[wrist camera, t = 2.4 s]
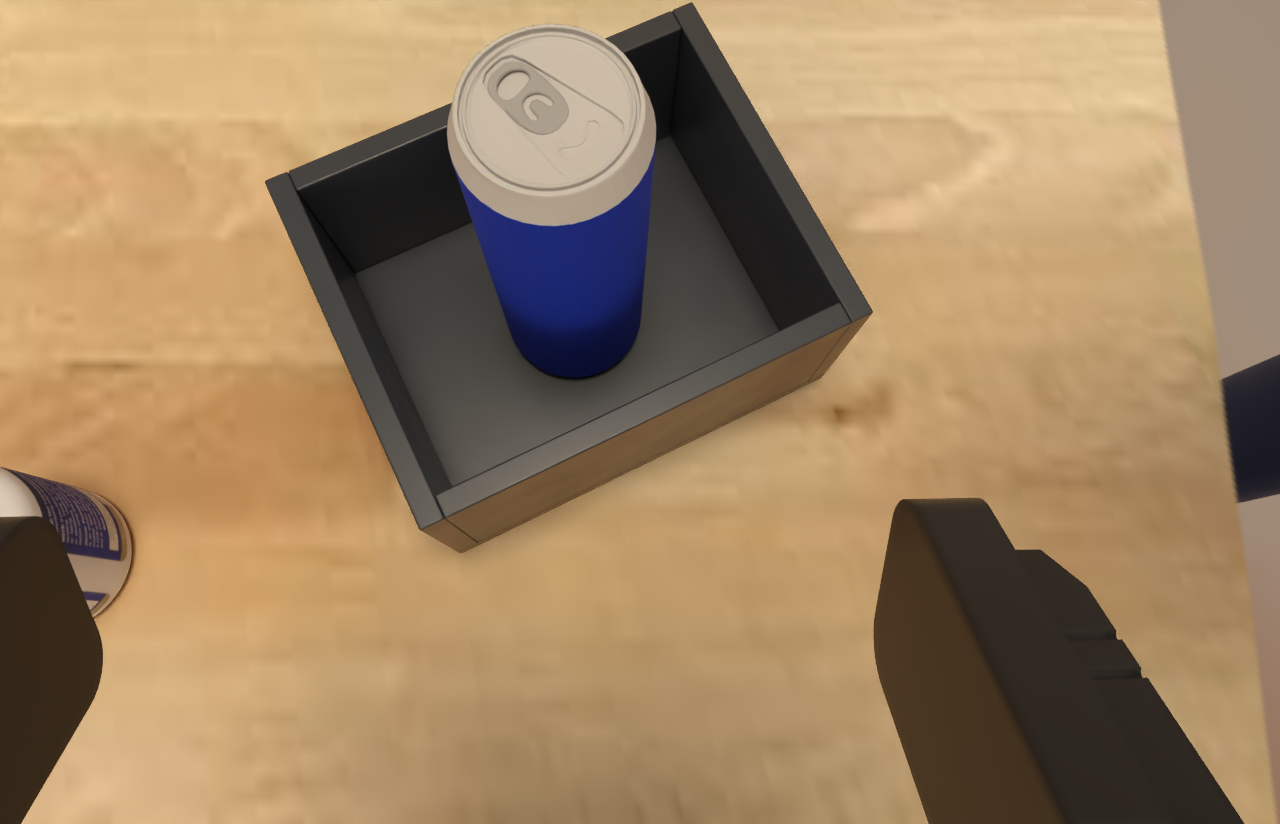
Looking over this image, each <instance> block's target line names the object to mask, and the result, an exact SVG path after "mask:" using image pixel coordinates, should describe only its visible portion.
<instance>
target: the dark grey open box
mask: <svg viewBox="0 0 1280 824" xmlns="http://www.w3.org/2000/svg"><path fill="white" fill-rule="evenodd" d="M605 39H606V40H608V41H609V42H611V43H612V44H614V45H615V46H616V47H617V48H618V49H619V50H620V51H621V52H622V53H623V54H624V55H625V56H626V57H627V58H628V60H629V61H630V62H631V64H632V65H633V67H634V68H635V70H636V72H637V74H638V76H639V78H640V80H641V83H642V85H643V87H644V88H645V90H646V92H647V94H648V96H649V98H650V101H651V104H652V107H653V110H654V115H655V121H656V146H655V158H654V170H653V182H652V194H651V206H650V218H649V230H648V241H647V253H646V265H645V277H644V289H643V301H642V313H641V322H640V328H639V331H638V334H637V337H636V339H635V341H634V343H633V345H632V346H631V348H630V349H629V351H628V352H627V353H626V354H625V356H624V357H623V358H622V359H620V360H619V361H618V362H617V363H616V364H614V365H613V366H611V367H610V368H608V369H606V370H604V371H602V372H600V373H597V374H594V375H590V376H585V377H563V376H558V375H554V374H551V373H548V372H546V371H544V370H542V369H540V368H538V367H536V366H535V365H534V364H532V363H531V362H530V361H528V360H527V359H526V358H525V357H524V355H523V354H522V353H521V352H520V351H519V349H518V348H517V346H516V345H515V343H514V341H513V338H512V336H511V334H510V331H509V328H508V325H507V322H506V319H505V316H504V313H503V310H502V307H501V304H500V301H499V298H498V295H497V292H496V290H495V287H494V284H493V281H492V278H491V275H490V272H489V269H488V266H487V263H486V260H485V257H484V254H483V251H482V248H481V245H480V242H479V240H478V237H477V234H476V231H475V228H474V225H473V222H472V219H471V216H470V213H469V210H468V207H467V204H466V201H465V198H464V195H463V192H462V190H461V187H460V184H459V181H458V178H457V175H456V172H455V169H454V166H453V163H452V160H451V156H450V152H449V149H448V139H447V126H448V117H449V113H450V109H451V105H452V103H450V104H448V105H445V106H443V107H441V108H438V109H436V110H433V111H431V112H429V113H426V114H424V115H422V116H419V117H417V118H414V119H412V120H410V121H407V122H405V123H402V124H400V125H398V126H395V127H393V128H391V129H388V130H386V131H383V132H381V133H379V134H376V135H374V136H371V137H369V138H367V139H364V140H362V141H359V142H357V143H355V144H352V145H350V146H348V147H345V148H343V149H340V150H338V151H336V152H333V153H331V154H328V155H326V156H324V157H321V158H319V159H317V160H314V161H312V162H309V163H307V164H305V165H302V166H300V167H297V168H295V169H293V170H290V171H289V173H287V172H285V173H283V174H280V175H278V176H276V177H273V178H271V179H268V180H266V181H265V184H266V186H267V188H268V191H269V193H270V195H271V197H272V200H273V202H274V204H275V206H276V209H277V211H278V213H279V215H280V218H281V220H282V222H283V224H284V227H285V229H286V231H287V233H288V236H289V238H290V240H291V242H292V245H293V247H294V249H295V251H296V254H297V256H298V258H299V260H300V263H301V265H302V267H303V269H304V271H305V274H306V276H307V278H308V280H309V283H310V285H311V287H312V289H313V292H314V294H315V296H316V298H317V301H318V303H319V305H320V307H321V310H322V312H323V314H324V316H325V319H326V321H327V323H328V325H329V328H330V330H331V332H332V334H333V337H334V339H335V341H336V343H337V346H338V348H339V350H340V352H341V355H342V357H343V359H344V361H345V363H346V366H347V368H348V370H349V372H350V375H351V377H352V379H353V381H354V384H355V386H356V388H357V390H358V393H359V395H360V397H361V399H362V402H363V404H364V406H365V408H366V411H367V413H368V415H369V417H370V420H371V422H372V424H373V426H374V429H375V431H376V433H377V435H378V438H379V440H380V442H381V444H382V447H383V449H384V451H385V453H386V456H387V458H388V460H389V462H390V464H391V467H392V469H393V471H394V473H395V476H396V478H397V480H398V482H399V485H400V487H401V489H402V491H403V494H404V496H405V498H406V500H407V503H408V505H409V507H410V509H411V512H412V514H413V516H414V518H415V521H416V523H417V525H418V527H419V529H420V530H421V531H423V532H425V533H426V534H428V535H430V536H432V537H433V538H435V539H437V540H439V541H440V542H442V543H444V544H446V545H447V546H449V547H451V548H453V549H454V550H456V551H458V552H460V553H463V552H465V551H467V550H469V549H471V548H473V547H475V546H477V545H479V544H481V543H483V542H485V541H487V540H489V539H491V538H494V537H496V536H498V535H500V534H502V533H504V532H506V531H508V530H510V529H512V528H514V527H516V526H518V525H520V524H522V523H524V522H526V521H528V520H530V519H532V518H535V517H537V516H539V515H541V514H543V513H545V512H547V511H549V510H551V509H553V508H555V507H557V506H559V505H561V504H563V503H565V502H567V501H569V500H571V499H573V498H576V497H578V496H580V495H582V494H584V493H586V492H588V491H590V490H592V489H594V488H596V487H598V486H600V485H602V484H604V483H606V482H608V481H610V480H612V479H614V478H617V477H619V476H621V475H623V474H625V473H627V472H629V471H631V470H633V469H635V468H637V467H639V466H641V465H643V464H645V463H647V462H649V461H651V460H653V459H656V458H658V457H660V456H662V455H664V454H666V453H668V452H670V451H672V450H674V449H676V448H678V447H680V446H682V445H684V444H686V443H688V442H690V441H692V440H694V439H697V438H699V437H701V436H703V435H705V434H707V433H709V432H711V431H713V430H715V429H717V428H719V427H721V426H723V425H725V424H727V423H729V422H731V421H733V420H735V419H738V418H740V417H742V416H744V415H746V414H748V413H750V412H752V411H754V410H756V409H758V408H760V407H762V406H764V405H766V404H768V403H770V402H772V401H774V400H776V399H779V398H781V397H783V396H785V395H787V394H789V393H791V392H793V391H795V390H797V389H799V388H801V387H803V386H805V385H807V384H809V383H811V382H813V381H815V380H817V379H820V378H821V377H822V376H823V375H824V373H825V372H826V371H827V370H828V368H829V367H830V366H831V365H832V363H833V362H834V361H835V360H836V358H837V357H838V356H839V355H840V353H841V352H842V351H843V350H844V348H845V347H846V346H847V344H848V343H849V342H850V341H851V339H852V338H853V337H854V336H855V334H856V333H857V332H858V331H859V329H860V328H861V327H862V326H863V324H864V323H865V322H866V321H867V319H868V318H869V317H870V315H871V314H872V313H873V311H872V309H871V307H870V306H869V304H868V302H867V301H866V299H865V297H864V295H863V294H862V292H861V290H860V289H859V287H858V285H857V283H856V282H855V280H854V278H853V277H852V275H851V273H850V271H849V270H848V268H847V266H846V265H845V263H844V261H843V259H842V258H841V256H840V254H839V253H838V251H837V249H836V247H835V246H834V244H833V242H832V241H831V239H830V237H829V236H828V234H827V232H826V230H825V229H824V227H823V225H822V224H821V222H820V220H819V218H818V217H817V215H816V213H815V212H814V210H813V208H812V206H811V205H810V203H809V201H808V200H807V198H806V196H805V194H804V193H803V191H802V189H801V188H800V186H799V184H798V182H797V181H796V179H795V177H794V176H793V174H792V172H791V171H790V169H789V167H788V165H787V164H786V162H785V160H784V159H783V157H782V155H781V153H780V152H779V150H778V148H777V147H776V145H775V143H774V141H773V140H772V138H771V136H770V135H769V133H768V131H767V129H766V128H765V126H764V124H763V123H762V121H761V119H760V117H759V116H758V114H757V112H756V111H755V109H754V107H753V105H752V104H751V102H750V100H749V99H748V97H747V95H746V94H745V92H744V90H743V88H742V87H741V85H740V83H739V82H738V80H737V78H736V76H735V75H734V73H733V71H732V70H731V68H730V66H729V64H728V63H727V61H726V59H725V58H724V56H723V54H722V52H721V51H720V49H719V47H718V46H717V44H716V42H715V40H714V39H713V37H712V35H711V34H710V32H709V30H708V28H707V27H706V25H705V23H704V22H703V20H702V18H701V17H700V15H699V13H698V11H697V10H696V8H695V6H694V5H693V3H689V4H686V5H684V6H681V7H679V8H677V9H674V10H673V11H672V12H671V11H670V12H667V13H665V14H663V15H660V16H658V17H656V18H653V19H651V20H648V21H646V22H644V23H641V24H639V25H636V26H634V27H632V28H629V29H627V30H624V31H622V32H620V33H617V34H615V35H613V36H610V37H608V38H605Z"/></svg>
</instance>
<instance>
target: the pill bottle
mask: <svg viewBox="0 0 1280 824" xmlns="http://www.w3.org/2000/svg"><path fill="white" fill-rule="evenodd" d="M18 516H39V517H43V518H45V519H47V520H48V521H50V522H51V523H52V524H53V525H54V527H55V528H56V529H57V531H58V533H59V535H60V537H61V540H62V542H63V545H64V547H65V550H66V552H67V555H68V557H69V559H70V562H71V564H72V567H73V569H74V572H75V574H76V577H77V579H78V582H79V584H80V587H81V589H82V592H83V594H84V597H85V599H86V602H87V604H88V606H89V609H90V611H91V614H92V616H93V617H94V616H96V615H97V614H99V613H100V612H101V611H102V610H103V609H104V608H105V607H107V606H108V604H109V603H110V602H111V601H112V600H113V599H114V597H115V596H116V595H117V593H118V592H119V590H120V589H121V587H122V585H123V583H124V581H125V579H126V577H127V574H128V571H129V567H130V563H131V555H132V547H131V539H130V534H129V530H128V528H127V525H126V523H125V521H124V519H123V517H122V516H121V514H120V513H119V512H118V510H117V509H116V508H115V507H114V506H113V505H112V504H111V503H109V502H108V501H107V500H106V499H104V498H103V497H101V496H99V495H97V494H95V493H93V492H90V491H87V490H84V489H81V488H77V487H74V486H70V485H66V484H62V483H59V482H54V481H51V480H47V479H43V478H39V477H36V476H32V475H28V474H25V473H21V472H18V471H14V470H10V469H7V468H3V467H0V517H18Z"/></svg>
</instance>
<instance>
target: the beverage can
mask: <svg viewBox="0 0 1280 824" xmlns="http://www.w3.org/2000/svg"><path fill="white" fill-rule="evenodd" d="M447 139H448V149H449V152H450V156H451V160H452V163H453V166H454V169H455V172H456V175H457V178H458V181H459V184H460V187H461V190H462V192H463V195H464V198H465V201H466V204H467V207H468V210H469V213H470V216H471V219H472V222H473V225H474V228H475V231H476V234H477V237H478V240H479V242H480V245H481V248H482V251H483V254H484V257H485V260H486V263H487V266H488V269H489V272H490V275H491V278H492V281H493V284H494V287H495V290H496V292H497V295H498V298H499V301H500V304H501V307H502V310H503V313H504V316H505V319H506V322H507V325H508V328H509V331H510V334H511V336H512V338H513V341H514V343H515V345H516V346H517V348H518V349H519V351H520V352H521V353H522V354H523V355H524V357H525V358H526V359H527V360H528V361H530V362H531V363H532V364H534V365H535V366H536V367H538V368H540V369H542V370H544V371H546V372H548V373H551V374H554V375H558V376H563V377H585V376H590V375H594V374H597V373H600V372H602V371H604V370H606V369H608V368H610V367H611V366H613V365H614V364H616V363H617V362H618V361H619V360H620V359H622V358H623V357H624V356H625V354H626V353H627V352H628V351H629V349H630V348H631V346H632V345H633V343H634V341H635V339H636V337H637V334H638V331H639V328H640V322H641V313H642V301H643V289H644V277H645V265H646V253H647V241H648V230H649V218H650V206H651V194H652V182H653V170H654V158H655V146H656V121H655V115H654V110H653V107H652V104H651V101H650V98H649V96H648V94H647V92H646V90H645V88H644V87H643V85H642V83H641V80H640V78H639V76H638V74H637V72H636V70H635V68H634V67H633V65H632V64H631V62H630V61H629V60H628V58H627V57H626V56H625V55H624V54H623V53H622V52H621V51H620V50H619V49H618V48H617V47H616V46H615V45H614V44H612V43H611V42H609V41H608V40H606V39H605V38H603V37H601V36H599V35H597V34H595V33H593V32H591V31H588V30H585V29H582V28H579V27H575V26H569V25H563V24H542V25H533V26H528V27H525V28H521V29H517V30H515V31H512V32H510V33H507V34H505V35H503V36H501V37H500V38H498V39H496V40H494V41H493V42H491V43H490V44H489V45H487V46H486V47H485V48H484V49H482V50H481V51H480V52H479V53H478V54H477V55H476V56H475V57H474V58H473V60H472V61H471V62H470V63H469V64H468V66H467V67H466V69H465V70H464V72H463V73H462V75H461V78H460V80H459V82H458V84H457V87H456V90H455V94H454V98H453V102H452V105H451V109H450V113H449V117H448V126H447Z"/></svg>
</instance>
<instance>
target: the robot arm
mask: <svg viewBox="0 0 1280 824" xmlns="http://www.w3.org/2000/svg"><path fill="white" fill-rule="evenodd" d="M874 650H875V659H876V665H877V670H878V675H879V679H880V682H881V685H882V688H883V691H884V694H885V697H886V700H887V703H888V706H889V709H890V711H891V714H892V717H893V720H894V723H895V726H896V729H897V732H898V735H899V738H900V741H901V744H902V747H903V750H904V752H905V755H906V758H907V761H908V764H909V767H910V770H911V773H912V776H913V779H914V782H915V785H916V788H917V790H918V793H919V796H920V799H921V802H922V805H923V808H924V811H925V814H926V817H927V820H928V823H929V824H1244V822H1243V821H1242V819H1241V818H1240V816H1239V815H1238V813H1237V812H1236V810H1235V809H1234V807H1233V806H1232V804H1231V803H1230V801H1229V800H1228V798H1227V797H1226V795H1225V794H1224V792H1223V791H1222V789H1221V788H1220V786H1219V785H1218V783H1217V782H1216V780H1215V779H1214V777H1213V776H1212V774H1211V773H1210V771H1209V770H1208V768H1207V767H1206V765H1205V764H1204V762H1203V761H1202V759H1201V758H1200V756H1199V755H1198V753H1197V751H1196V750H1195V748H1194V747H1193V745H1192V744H1191V742H1190V741H1189V739H1188V738H1187V736H1186V735H1185V733H1184V732H1183V730H1182V729H1181V727H1180V726H1179V724H1178V723H1177V721H1176V720H1175V718H1174V717H1173V715H1172V714H1171V712H1170V711H1169V709H1168V708H1167V706H1166V705H1165V703H1164V702H1163V700H1162V699H1161V697H1160V696H1159V694H1158V693H1157V691H1156V690H1155V688H1154V687H1153V685H1152V684H1151V682H1150V681H1149V679H1148V678H1142V676H1141V667H1140V666H1139V664H1138V663H1137V661H1136V660H1135V658H1134V657H1133V655H1132V654H1131V652H1130V651H1129V649H1128V648H1127V646H1126V645H1125V643H1124V642H1123V640H1117V638H1116V630H1115V628H1114V627H1113V625H1112V624H1111V622H1110V621H1109V619H1108V618H1107V616H1106V615H1105V613H1104V612H1103V610H1102V609H1101V607H1100V606H1099V604H1098V603H1097V601H1096V600H1095V598H1094V597H1093V595H1092V594H1091V592H1090V591H1089V589H1088V588H1087V586H1086V585H1084V584H1083V583H1082V582H1081V581H1079V580H1078V579H1077V578H1076V577H1074V576H1073V575H1072V574H1070V573H1069V572H1068V571H1067V570H1065V569H1064V568H1063V567H1062V566H1060V565H1059V564H1058V563H1057V562H1055V561H1054V560H1053V559H1052V558H1050V557H1049V556H1048V555H1046V554H1045V553H1044V552H1043V551H1041V550H1015V549H1014V547H1013V545H1012V544H1011V542H1010V540H1009V539H1008V537H1007V535H1006V534H1005V532H1004V530H1003V528H1002V527H1001V525H1000V523H999V522H998V520H997V518H996V517H995V515H994V513H993V512H992V510H991V508H990V507H989V506H988V504H987V503H986V502H985V501H984V500H982V499H980V498H946V499H903V500H901V501H900V502H899V503H898V504H897V506H896V508H895V511H894V514H893V518H892V523H891V529H890V534H889V540H888V545H887V551H886V556H885V562H884V568H883V573H882V579H881V584H880V590H879V595H878V601H877V606H876V612H875V619H874ZM102 665H103V650H102V642H101V637H100V634H99V631H98V629H97V626H96V624H95V621H94V619H93V616H92V614H91V611H90V609H89V606H88V604H87V602H86V599H85V597H84V594H83V592H82V589H81V587H80V584H79V582H78V579H77V577H76V574H75V572H74V569H73V567H72V564H71V562H70V559H69V557H68V555H67V552H66V550H65V547H64V545H63V542H62V540H61V537H60V535H59V533H58V531H57V529H56V528H55V527H54V525H53V524H52V523H51V522H50V521H48V520H47V519H45V518H43V517H39V516H18V517H0V824H21V823H22V821H23V819H24V817H25V816H26V814H27V812H28V811H29V809H30V807H31V806H32V804H33V802H34V800H35V799H36V797H37V795H38V794H39V792H40V790H41V789H42V787H43V785H44V783H45V782H46V780H47V778H48V777H49V775H50V773H51V772H52V770H53V768H54V766H55V765H56V763H57V761H58V760H59V758H60V756H61V754H62V753H63V751H64V749H65V748H66V746H67V744H68V743H69V741H70V739H71V737H72V736H73V734H74V732H75V731H76V729H77V727H78V726H79V724H80V722H81V720H82V719H83V717H84V715H85V714H86V712H87V710H88V709H89V707H90V705H91V703H92V701H93V699H94V697H95V695H96V692H97V690H98V686H99V683H100V678H101V673H102Z"/></svg>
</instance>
